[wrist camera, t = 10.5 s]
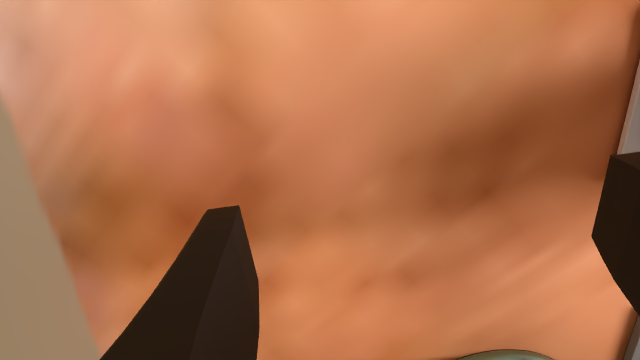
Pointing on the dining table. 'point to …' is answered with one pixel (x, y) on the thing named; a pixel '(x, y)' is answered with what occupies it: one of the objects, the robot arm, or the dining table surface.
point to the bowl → (507, 355)
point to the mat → (634, 343)
